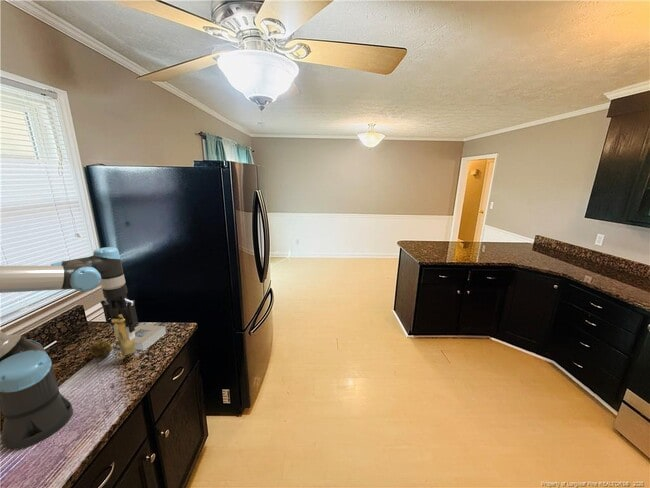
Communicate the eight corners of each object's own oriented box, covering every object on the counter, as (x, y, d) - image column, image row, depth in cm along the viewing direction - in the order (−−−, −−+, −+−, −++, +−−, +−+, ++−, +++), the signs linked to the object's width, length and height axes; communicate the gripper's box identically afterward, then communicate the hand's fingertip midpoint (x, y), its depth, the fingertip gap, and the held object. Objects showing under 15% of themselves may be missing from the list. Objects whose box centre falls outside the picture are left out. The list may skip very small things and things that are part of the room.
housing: (143, 350, 119) (142, 342, 118) (116, 348, 121) (114, 340, 120) (166, 333, 132) (164, 326, 131) (141, 331, 134) (139, 324, 133)
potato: (117, 344, 123) (114, 329, 121) (111, 360, 112) (107, 344, 110) (95, 350, 119) (91, 334, 118) (86, 367, 108) (81, 350, 107)
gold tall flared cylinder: (129, 356, 107) (121, 321, 104) (115, 355, 108) (107, 320, 104) (141, 347, 114) (134, 313, 110) (128, 346, 114) (121, 312, 111)
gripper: (142, 283, 106) (152, 334, 112) (103, 281, 109) (115, 331, 114) (126, 290, 99) (137, 345, 105) (85, 289, 102) (98, 342, 107)
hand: (125, 338), depth 109 cm, fingers closed on gold tall flared cylinder, 5 cm apart
